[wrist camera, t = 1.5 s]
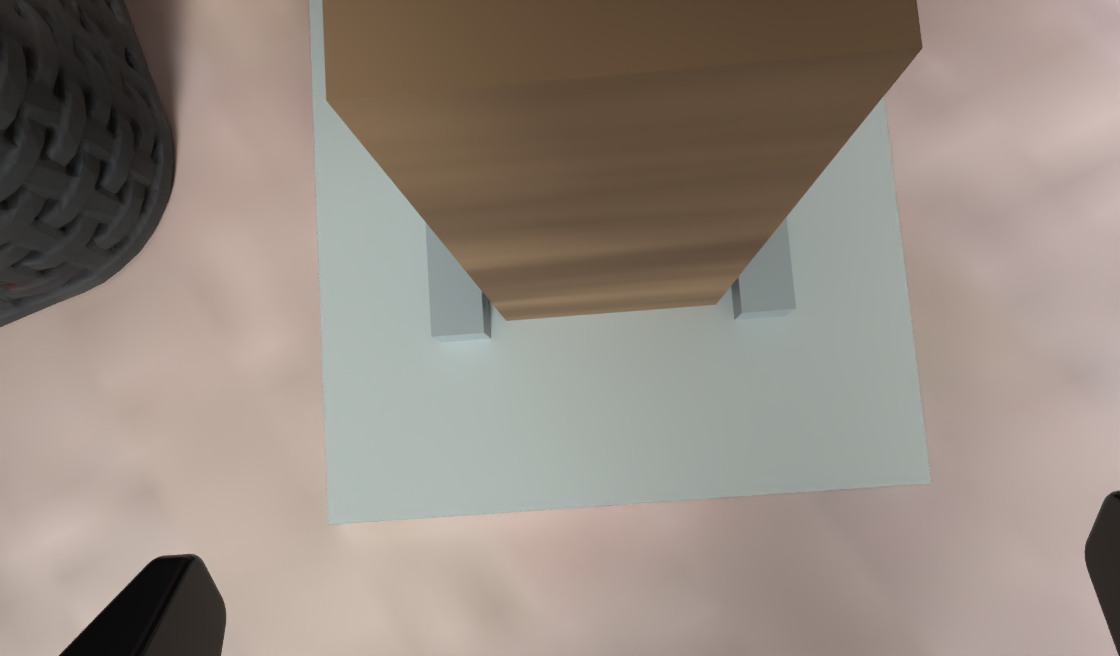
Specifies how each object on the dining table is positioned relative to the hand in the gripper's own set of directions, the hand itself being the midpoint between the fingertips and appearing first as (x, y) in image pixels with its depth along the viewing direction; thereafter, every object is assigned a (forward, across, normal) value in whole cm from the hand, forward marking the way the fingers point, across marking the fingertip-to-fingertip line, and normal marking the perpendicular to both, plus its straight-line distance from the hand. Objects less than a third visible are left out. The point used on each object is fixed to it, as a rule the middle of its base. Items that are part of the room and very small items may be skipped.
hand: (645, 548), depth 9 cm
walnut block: (+13, 0, +4) cm, 14 cm away
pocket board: (+14, 0, +4) cm, 14 cm away
